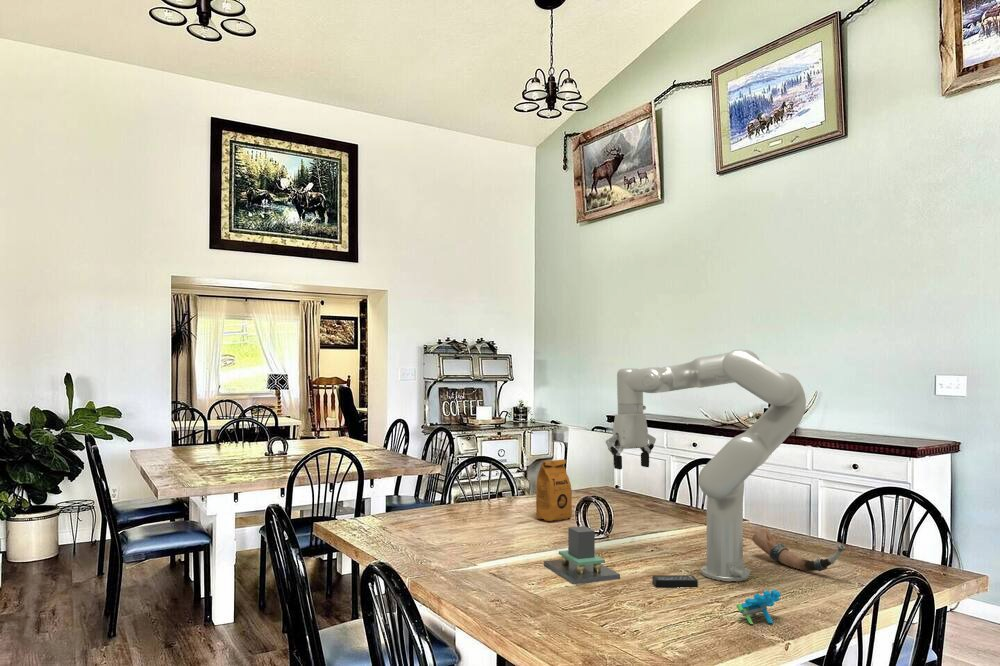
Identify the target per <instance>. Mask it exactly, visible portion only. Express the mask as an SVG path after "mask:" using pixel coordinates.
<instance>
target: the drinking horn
mask: <svg viewBox="0 0 1000 666" xmlns="http://www.w3.org/2000/svg"><path fill="white" fill-rule="evenodd" d="M751 540H752V542H753V543H754V544H755V545H756V546H757V547H758V548H759V549H760V550H762V551H763V552H764V553H765V554H767V555H768V556H769V558H771V559H772V560H774V561H775V562H777V563H779V564H783V565H785V566H788V567H789V566H790V568H792V567H793V568H792V569H795V568H796V569H795V570H799V569H800V571H807V572H814V571H816V572H817V571H819V572H823V571H824V570H827V569H828V567H830V566H831V565H834V563H835V562H836V561H837V560H838V558H839V557H840V555H841V554H842V552H843V551H845V550H846V547H845V546H844V545H843V544H840V543H839V544H838V545H837V548H838V549H837V550H836V551H835V552H834V553H833V554H832V555H830V556H826V558H821V557H819V556H818V557H817V559H815V560H809V559H805V558H802V557H800V556H798V555H796V554H794V553H792V552H791V551H789V549H788V548H787V547H786V546H785V544H783V543H780V542H779V541H778V540H777V539H776V538H775V537H774V536H773V535H772V533H771V532H770V531H769V530H768V528H762V529H760V530H758V531H756V532H755V533H754V535H753V536H752V538H751Z"/></svg>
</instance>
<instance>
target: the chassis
mask: <svg viewBox="0 0 1000 666" xmlns="http://www.w3.org/2000/svg"><path fill="white" fill-rule="evenodd" d="M543 565H544V567H546V568H547V569H548V570H550V569H551V570H550V571H552V572H554V573H555V574H557V575H558V574H559V576H560V577H562V578H563V579H564V580H566V581H568V582H570V583H571V584H572V585H580V584H587V583H588V584H589V583H596V582H597V583H598V582H605V581H613V580H620V579H621V573H618V572H617V571H615V570H613V569H611V568H609V567H607V566H605V565H603V563H599V564H590V565H580V566H578V565H577V564H575V563H573V562H571V561H570V560H568V559H566V558H565V557H563V556H561V559H552V560H544V561H543Z"/></svg>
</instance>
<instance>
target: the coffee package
mask: <svg viewBox="0 0 1000 666" xmlns="http://www.w3.org/2000/svg"><path fill="white" fill-rule="evenodd" d="M566 463H567V462H566V459H565V458H564V459H556V460H543V461H542V462H541V464H540V468H539V470H538V474H537V477H536V490H535V491H536V492H535V495H536V496H535V497H536V499H535V502H536V503H535V505H536V507H535V509H536V510H535V512H536V519H537V518H538V519H537V520H541V519H544V520H543V521H546V522H554V521H553V520H557V521H563V520H562V519H565V520H569V519H568V518H570V519H571V518H572V517H573V508H572V507H573V506H572V505H573V502H572V500H573V499H572V496H573V495H572V493H573V492H572V491H573V489H572V485H571V481H570V478H569V476H568V474H567V469H566V466H565V464H566Z"/></svg>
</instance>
